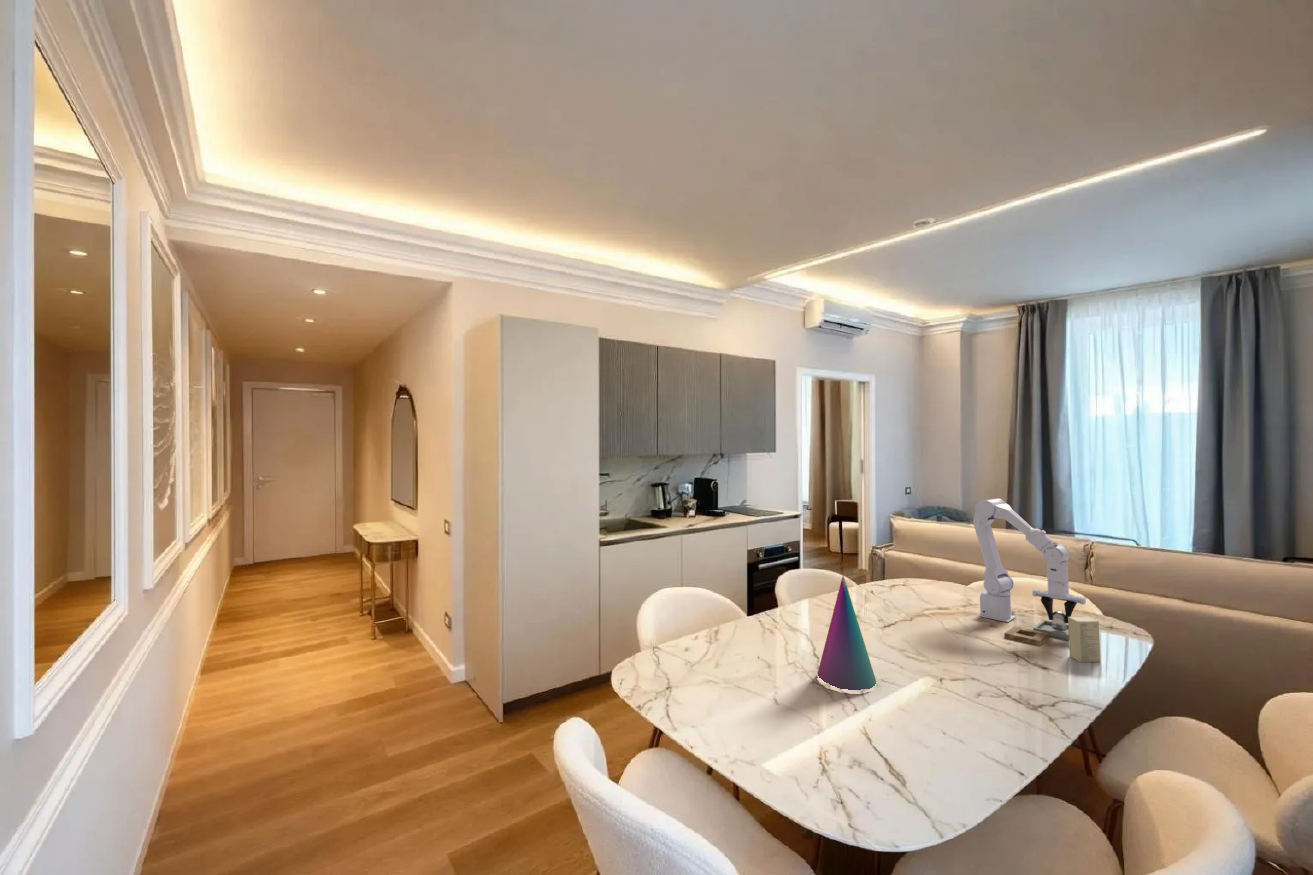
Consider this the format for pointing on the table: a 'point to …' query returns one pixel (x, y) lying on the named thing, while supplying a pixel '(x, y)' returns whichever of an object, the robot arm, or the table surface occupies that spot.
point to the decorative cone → (845, 648)
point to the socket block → (1036, 637)
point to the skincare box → (1084, 639)
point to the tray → (1051, 630)
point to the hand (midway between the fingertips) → (1059, 620)
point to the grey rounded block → (1059, 621)
